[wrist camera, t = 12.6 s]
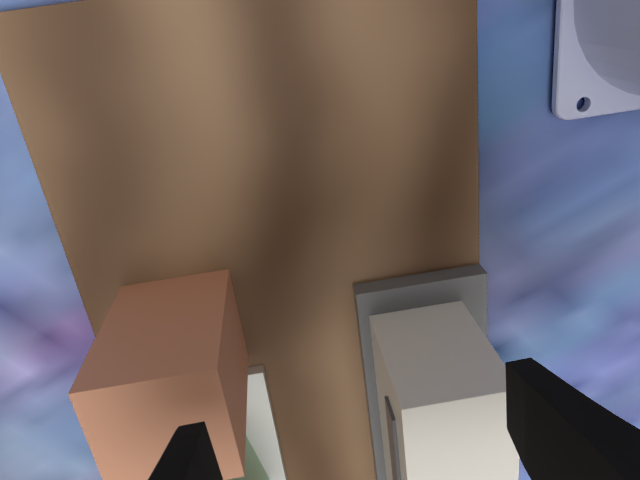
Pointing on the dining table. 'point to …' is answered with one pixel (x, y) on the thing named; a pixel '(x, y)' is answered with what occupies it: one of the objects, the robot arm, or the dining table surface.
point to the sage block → (252, 465)
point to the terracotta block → (165, 375)
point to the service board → (258, 170)
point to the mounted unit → (433, 378)
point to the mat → (263, 425)
